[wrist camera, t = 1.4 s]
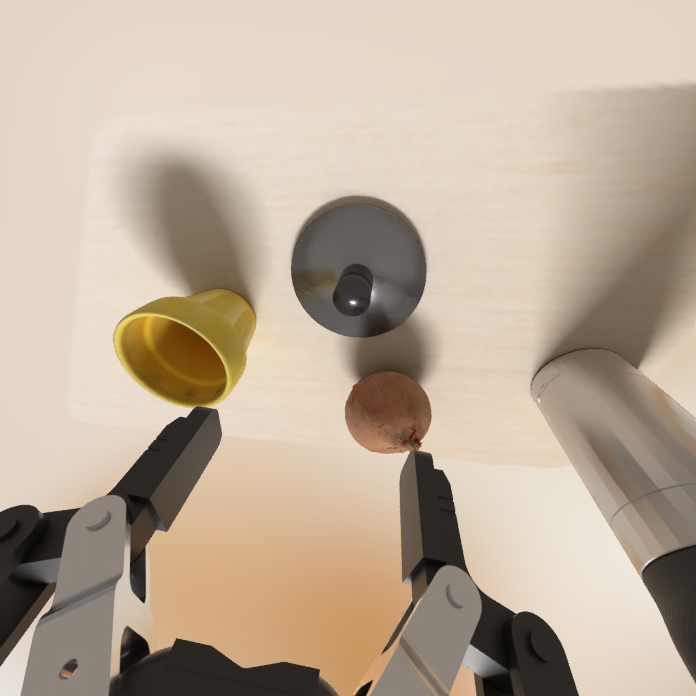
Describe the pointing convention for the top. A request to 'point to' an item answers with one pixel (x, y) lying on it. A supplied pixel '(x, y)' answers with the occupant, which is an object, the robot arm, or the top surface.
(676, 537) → the robot arm
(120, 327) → the plant pot
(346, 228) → the lid
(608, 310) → the top surface
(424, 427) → the onion
